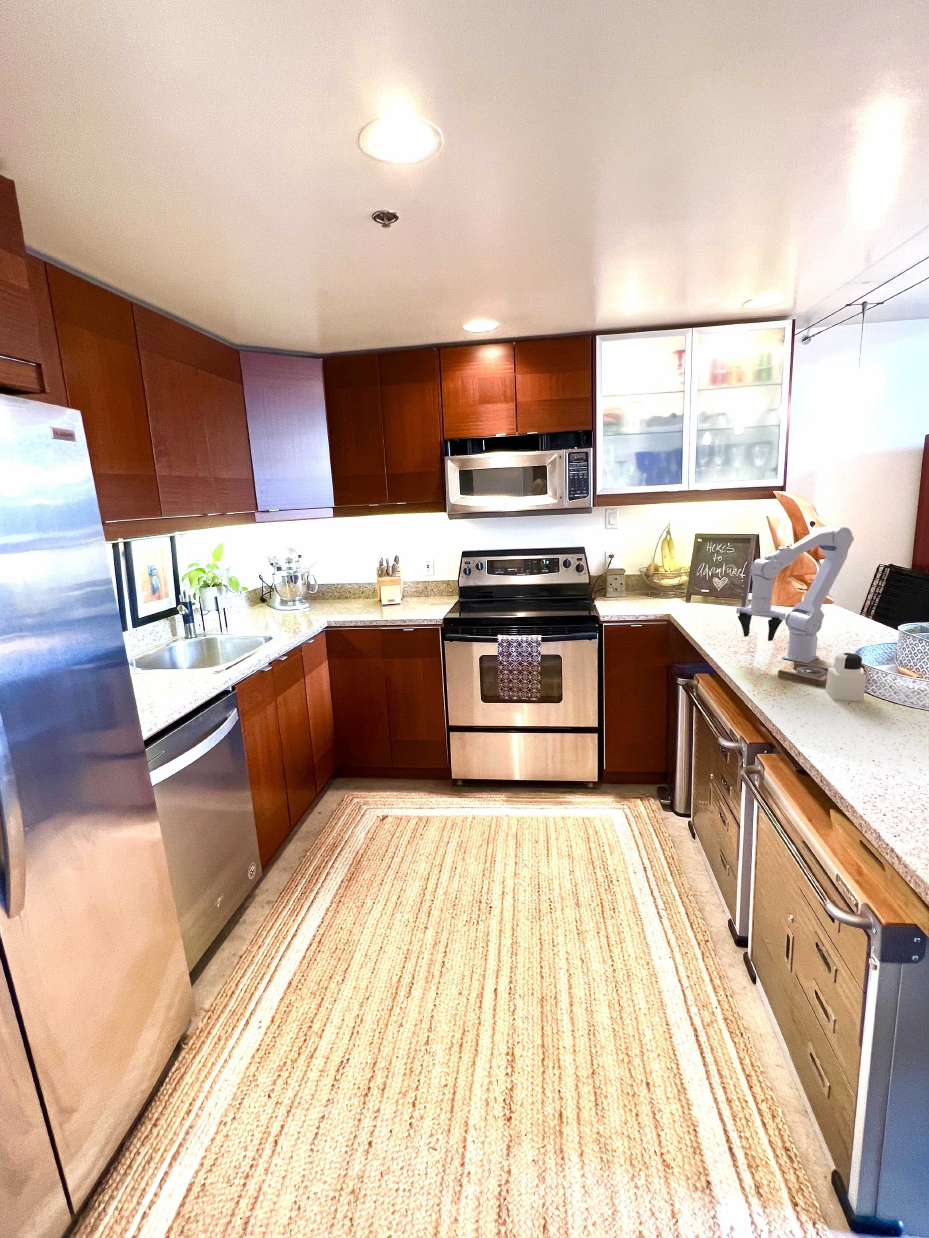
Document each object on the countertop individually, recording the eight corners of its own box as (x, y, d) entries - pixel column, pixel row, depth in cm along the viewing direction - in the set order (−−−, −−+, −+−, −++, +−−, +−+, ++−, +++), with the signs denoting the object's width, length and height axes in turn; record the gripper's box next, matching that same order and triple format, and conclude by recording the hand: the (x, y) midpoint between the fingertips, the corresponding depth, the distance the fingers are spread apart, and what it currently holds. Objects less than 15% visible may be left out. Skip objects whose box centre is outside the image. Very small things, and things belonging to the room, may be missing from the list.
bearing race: (803, 672, 180) (803, 664, 179) (831, 678, 173) (832, 670, 173) (791, 678, 175) (791, 670, 174) (819, 684, 169) (820, 676, 168)
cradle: (795, 667, 183) (795, 661, 183) (838, 676, 174) (839, 670, 173) (777, 676, 175) (778, 670, 175) (822, 686, 166) (822, 680, 166)
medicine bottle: (853, 692, 161) (859, 651, 158) (863, 702, 154) (869, 659, 152) (825, 691, 163) (829, 650, 160) (833, 700, 156) (838, 657, 154)
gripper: (733, 596, 187) (730, 636, 190) (780, 602, 176) (776, 644, 179) (743, 592, 191) (740, 632, 194) (790, 598, 180) (785, 640, 184)
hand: (758, 638), depth 187 cm, fingers open, 7 cm apart
